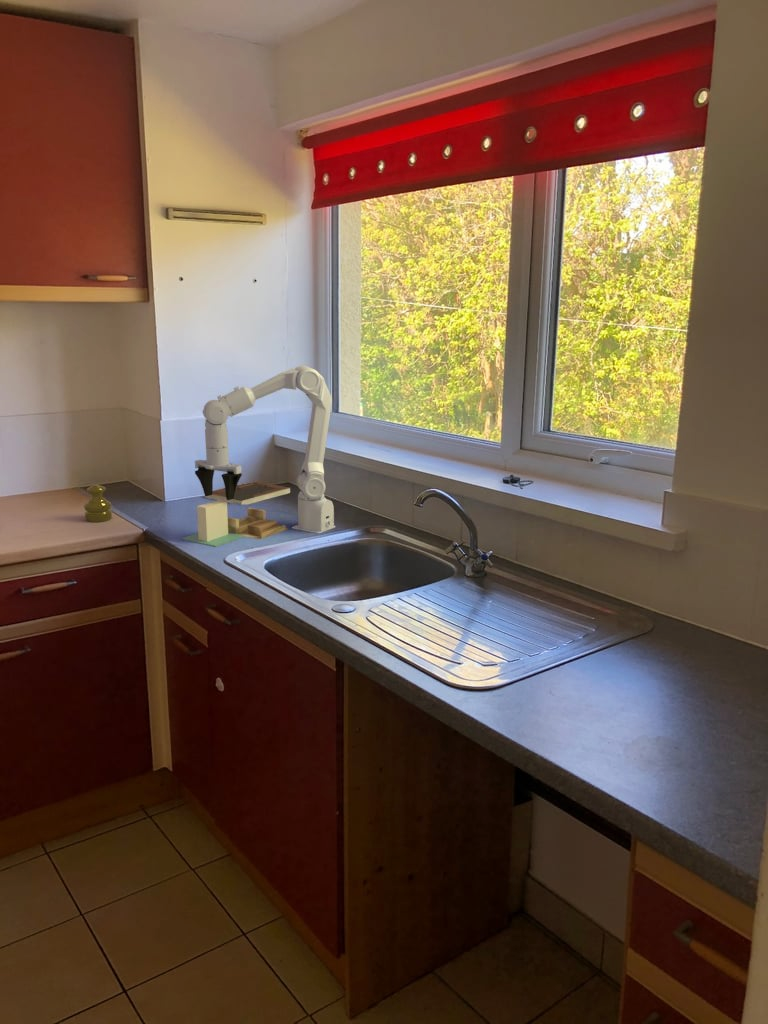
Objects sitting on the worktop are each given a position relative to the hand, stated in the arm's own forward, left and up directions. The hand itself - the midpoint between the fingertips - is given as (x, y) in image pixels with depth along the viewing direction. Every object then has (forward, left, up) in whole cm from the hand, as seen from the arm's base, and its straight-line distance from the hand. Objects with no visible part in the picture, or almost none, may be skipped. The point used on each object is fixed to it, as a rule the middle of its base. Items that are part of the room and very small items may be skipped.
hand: (219, 497), depth 221 cm
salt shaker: (+40, +8, -11) cm, 42 cm away
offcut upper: (-8, -7, -9) cm, 14 cm away
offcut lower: (-9, -8, -10) cm, 15 cm away
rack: (-5, -8, -10) cm, 14 cm away
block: (-1, +4, -10) cm, 11 cm away
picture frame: (+24, -38, -11) cm, 46 cm away
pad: (-1, +4, -10) cm, 11 cm away
